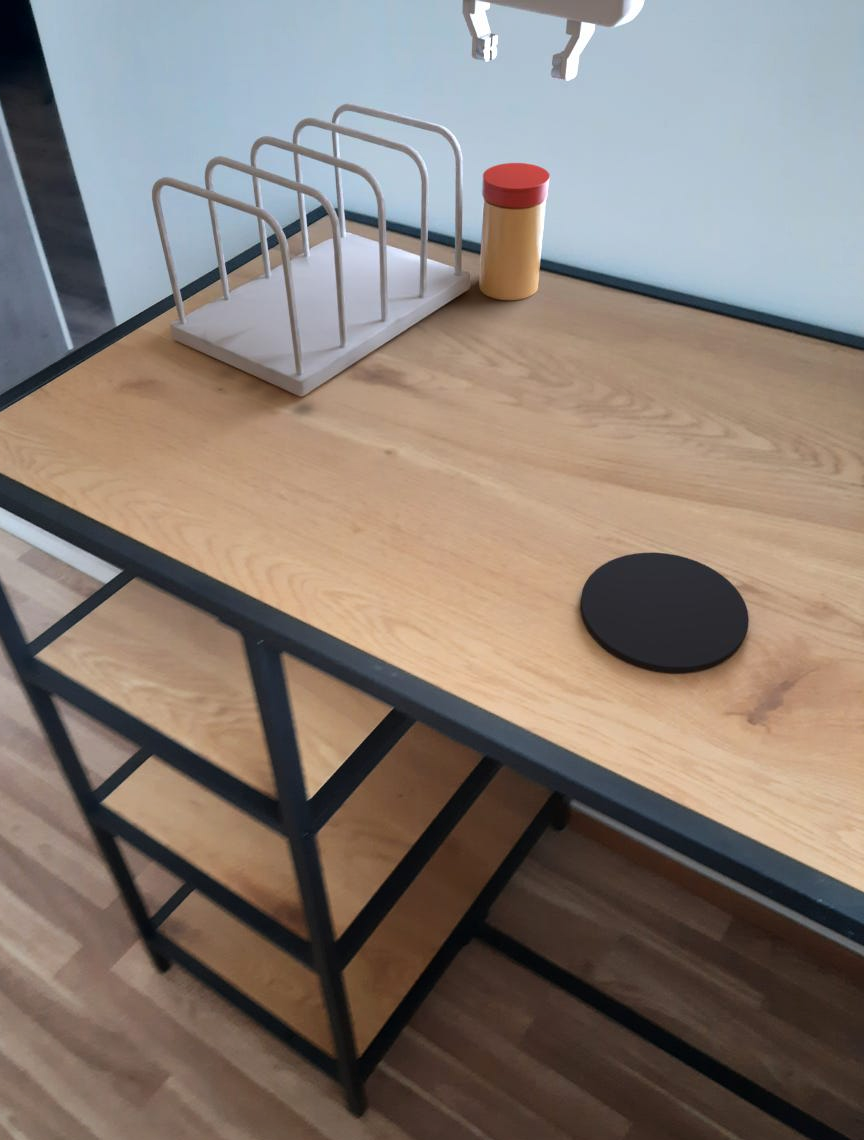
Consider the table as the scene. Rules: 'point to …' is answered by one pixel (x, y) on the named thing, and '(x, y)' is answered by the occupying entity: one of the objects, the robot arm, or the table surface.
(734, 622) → the black coaster
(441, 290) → the file sorter
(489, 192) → the lid
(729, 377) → the table surface
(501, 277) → the jar
